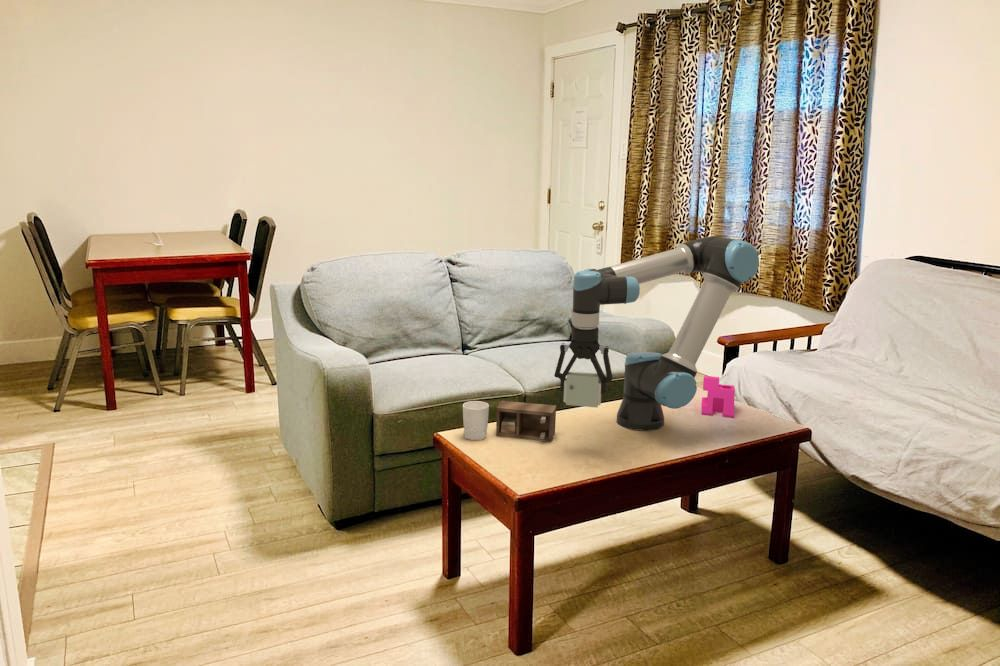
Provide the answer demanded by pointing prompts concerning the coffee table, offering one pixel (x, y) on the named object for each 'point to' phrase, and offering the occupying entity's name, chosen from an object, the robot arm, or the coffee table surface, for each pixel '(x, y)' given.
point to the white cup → (475, 419)
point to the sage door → (582, 389)
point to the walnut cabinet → (526, 420)
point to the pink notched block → (718, 397)
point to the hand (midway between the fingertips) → (582, 402)
